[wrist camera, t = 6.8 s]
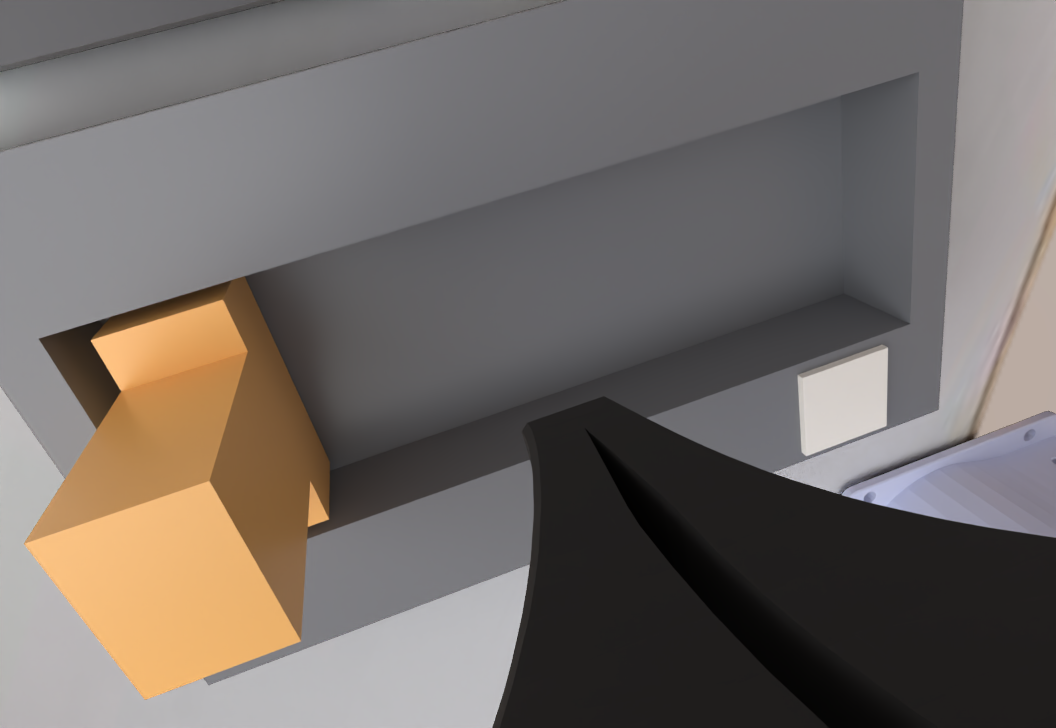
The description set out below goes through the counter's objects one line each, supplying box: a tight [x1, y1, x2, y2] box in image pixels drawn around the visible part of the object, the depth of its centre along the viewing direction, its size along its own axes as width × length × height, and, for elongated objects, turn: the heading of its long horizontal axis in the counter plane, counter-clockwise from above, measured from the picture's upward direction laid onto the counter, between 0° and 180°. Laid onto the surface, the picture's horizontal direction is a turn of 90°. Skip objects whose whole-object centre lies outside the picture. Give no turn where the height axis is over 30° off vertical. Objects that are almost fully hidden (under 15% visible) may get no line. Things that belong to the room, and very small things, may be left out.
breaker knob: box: [24, 276, 330, 700], centre depth 13 cm, size 2×5×7 cm, turn 13°
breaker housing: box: [0, 0, 964, 685], centre depth 16 cm, size 21×17×5 cm
